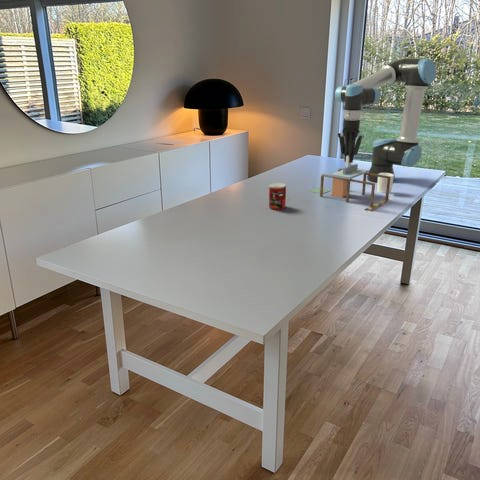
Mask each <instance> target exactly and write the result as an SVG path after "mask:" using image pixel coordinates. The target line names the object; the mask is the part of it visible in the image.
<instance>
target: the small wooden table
mask: <svg viewBox="0 0 480 480" xmlns="http://www.w3.org/2000/svg"><path fill="white" fill-rule="evenodd" d="M341 170H343V168H338V170H337V172H339V171H341ZM367 175H371V176H376V177H382V178H388V180H387V189H386V193H385V198H384V199H382V200H381V201H378V202H376V203H374V201H375V200H374V198H375V192H376V190H375V188H376V182H371V181H367ZM325 178H331V179H333V178H335V179H341V180H346V181H347V193H346V196H345V197H343V198H342V197H337V196H332V194H329V195H328V196H330V197H335V198H339V199H345V202H346V203H349V202H350V196H351V194H350V189H351V182H352V183H356V184H362V189H361V190H362V191H361V196H365V195H366V186H367V185H370V186H371V192H370V202H369V203H370V204H369V206H368V207H366V208H364V209H363V210H364V211H367V210H368V211H369V212H371V211H374V210H375V209H377V208H379V207H381V206H382V205H385V204H387V203H388V202H390V198H389V195H390V193H389V187H390V179H391V177H390V176H384V175H378V174H372V173H365V174H363V177H362V179H363V180H359V179H354V178H352V179H350V180H349V179H343V178H338V177H332V176H331V174H326V173H322V174H321V175H320V187H319V188H320V194H319V197H320V198H323V196H324V194H323V189H324V181H325Z"/></svg>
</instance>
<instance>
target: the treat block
mask: <svg viewBox="0 0 480 480" xmlns="http://www.w3.org/2000/svg"><path fill="white" fill-rule="evenodd" d="M331 187H332V188H331V195H332V196H331V197H333V196H337V197H336V198H338V197H342V198H341V199H344V198H343V197H345V196H346V193H347V181H346V180H341V179H335V178H332V186H331Z"/></svg>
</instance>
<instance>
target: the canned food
mask: <svg viewBox="0 0 480 480" xmlns="http://www.w3.org/2000/svg"><path fill="white" fill-rule="evenodd" d="M268 186H269V187H268V207H269V209H271V210H273V211H274V210H275V211H280V210H284V209H285V208H286V197H287V193H286V192H287V184H285V183H282V182H272V183H270V184H269V185H268Z"/></svg>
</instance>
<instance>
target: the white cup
mask: <svg viewBox="0 0 480 480" xmlns="http://www.w3.org/2000/svg"><path fill="white" fill-rule="evenodd" d="M378 175H384V176H390V177H391V179H390V187H389V194H391V193H392V189H393V184H394V181H393V179H394V175H395V173H394V174H391V173H379V174H378ZM387 180H388V178H382V177H378V182H376V183H377V185H376V186H377V187H376V188H377V192H378V193H381V194H386V189H387Z"/></svg>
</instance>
